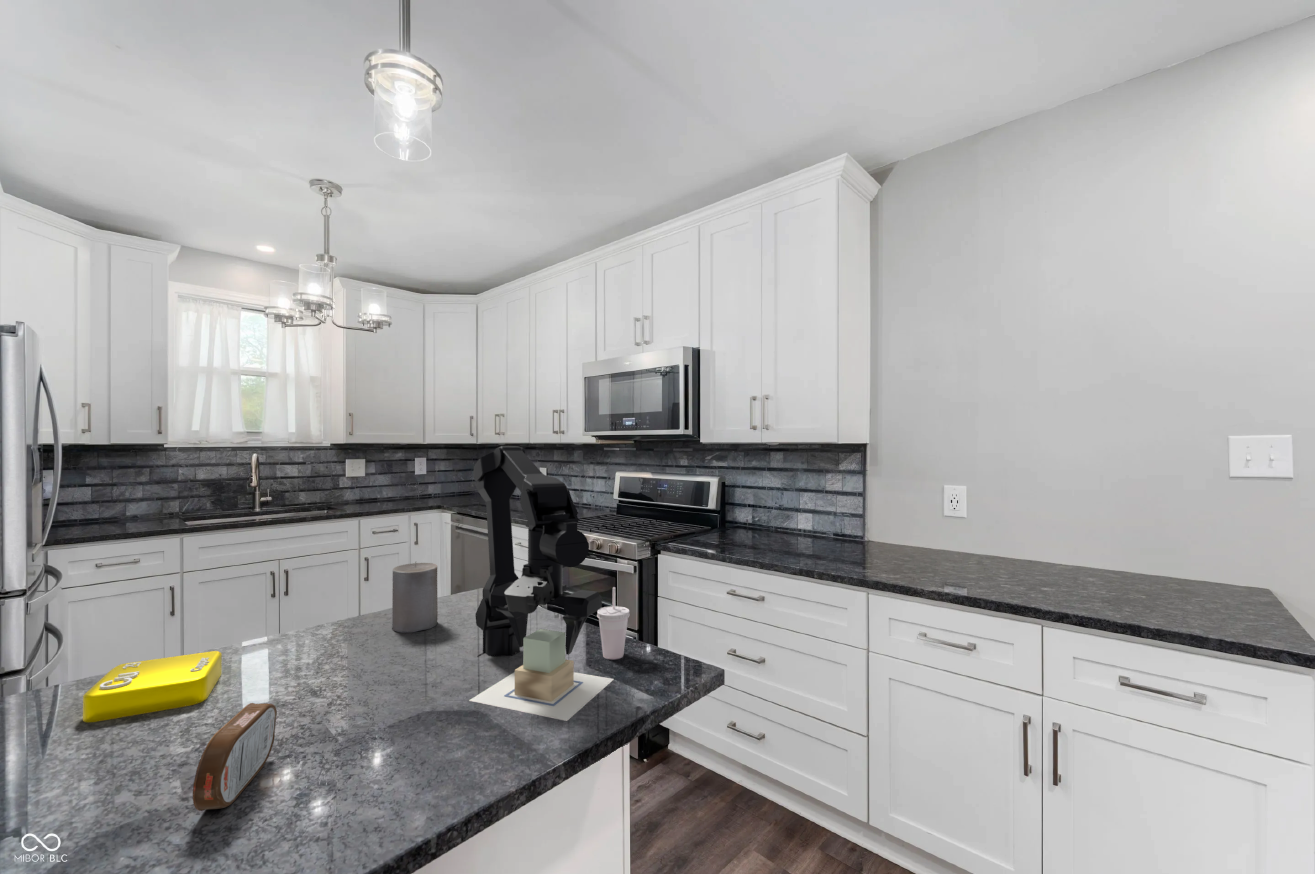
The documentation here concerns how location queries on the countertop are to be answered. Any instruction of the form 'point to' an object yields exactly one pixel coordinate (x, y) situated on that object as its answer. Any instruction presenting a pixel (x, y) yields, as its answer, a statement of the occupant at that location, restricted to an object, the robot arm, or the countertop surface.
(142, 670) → the element tile
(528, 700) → the white mat
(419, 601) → the pillar candle
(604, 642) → the smoothie
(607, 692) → the countertop surface
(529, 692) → the maple block
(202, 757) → the tin
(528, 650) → the sage block
